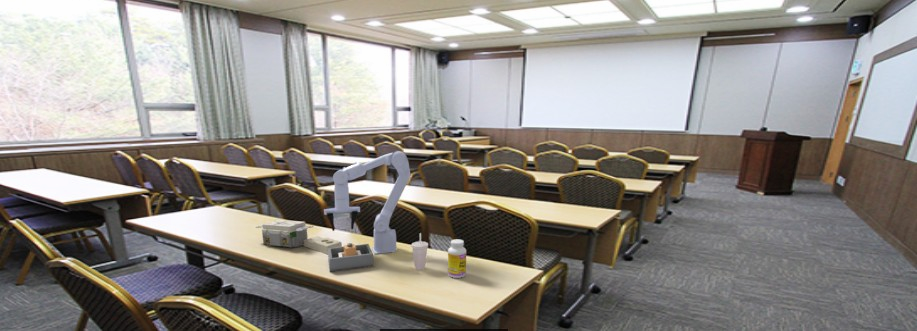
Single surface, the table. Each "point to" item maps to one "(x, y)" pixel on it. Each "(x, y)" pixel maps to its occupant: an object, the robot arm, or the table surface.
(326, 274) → the table surface
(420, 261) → the smoothie
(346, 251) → the plug
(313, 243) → the electrical outlet
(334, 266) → the bay
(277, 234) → the grey latched case
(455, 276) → the supplement bottle
